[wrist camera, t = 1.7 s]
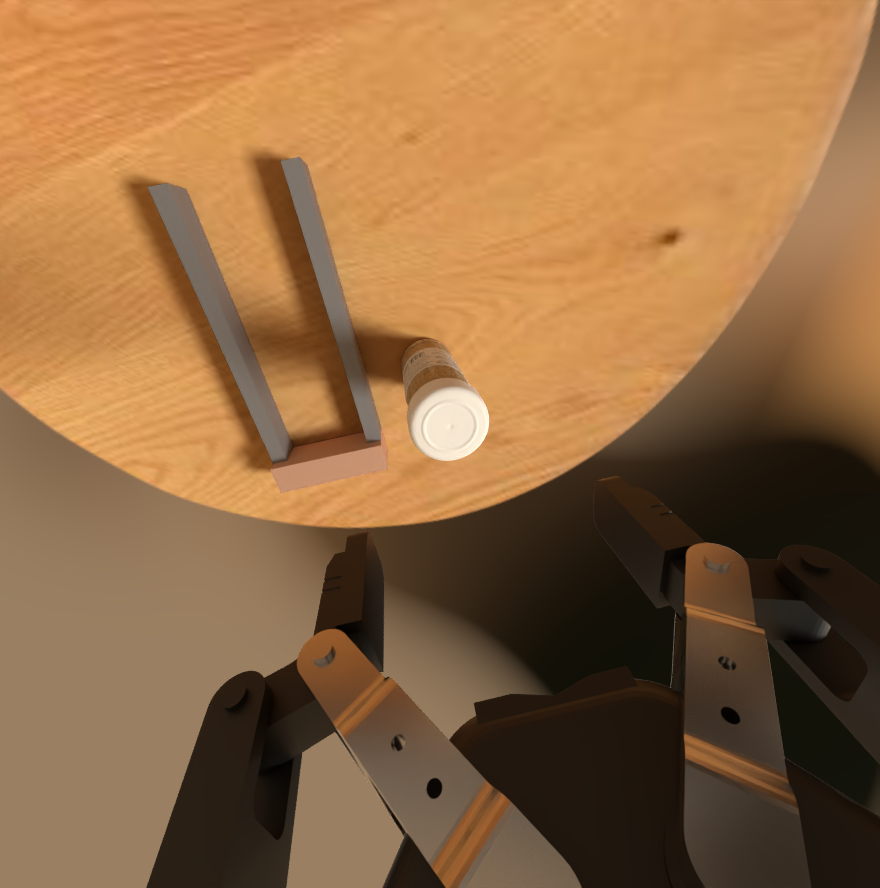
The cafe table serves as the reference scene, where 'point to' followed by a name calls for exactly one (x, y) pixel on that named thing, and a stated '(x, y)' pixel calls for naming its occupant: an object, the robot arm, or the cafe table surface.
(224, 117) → the cafe table surface
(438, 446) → the sprinkles bottle
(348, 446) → the guide channel
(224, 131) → the cafe table surface
